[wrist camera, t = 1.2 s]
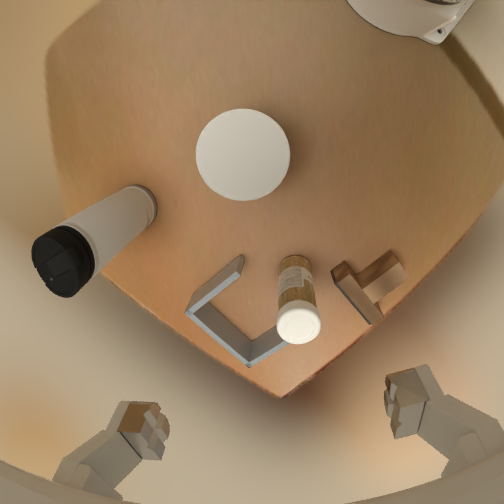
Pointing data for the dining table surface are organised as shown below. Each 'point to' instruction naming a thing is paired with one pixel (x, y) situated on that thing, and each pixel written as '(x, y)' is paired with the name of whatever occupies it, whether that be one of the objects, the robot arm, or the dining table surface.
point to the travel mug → (91, 239)
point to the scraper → (369, 284)
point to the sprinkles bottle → (297, 302)
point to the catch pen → (223, 327)
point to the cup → (242, 154)
